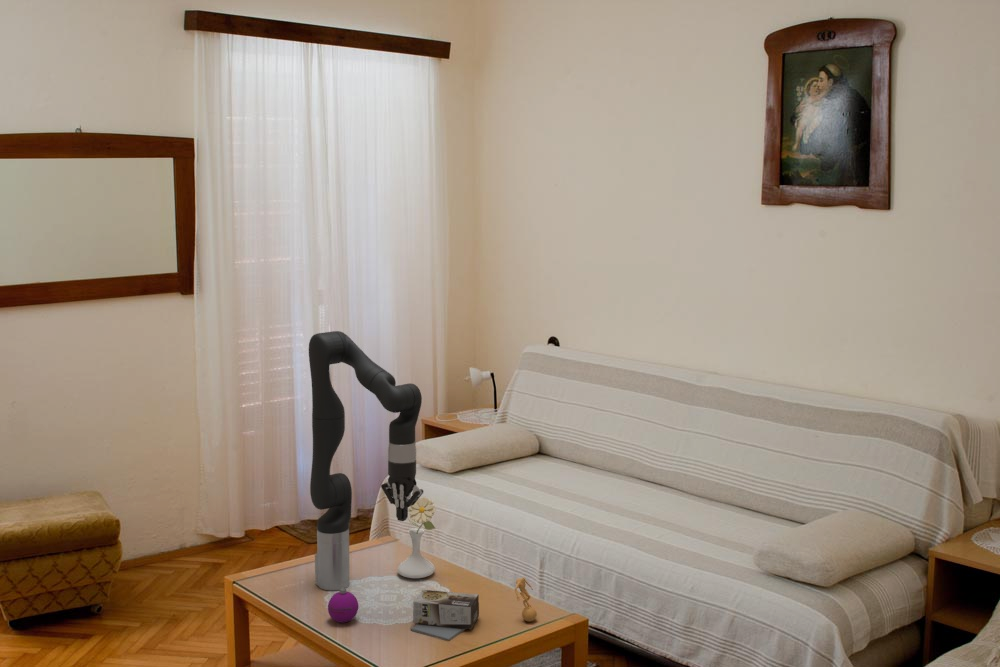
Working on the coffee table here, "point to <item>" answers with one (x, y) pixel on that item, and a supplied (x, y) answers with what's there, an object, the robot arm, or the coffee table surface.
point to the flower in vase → (418, 540)
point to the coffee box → (446, 609)
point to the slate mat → (437, 631)
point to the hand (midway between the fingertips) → (402, 520)
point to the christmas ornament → (343, 606)
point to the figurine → (529, 611)
